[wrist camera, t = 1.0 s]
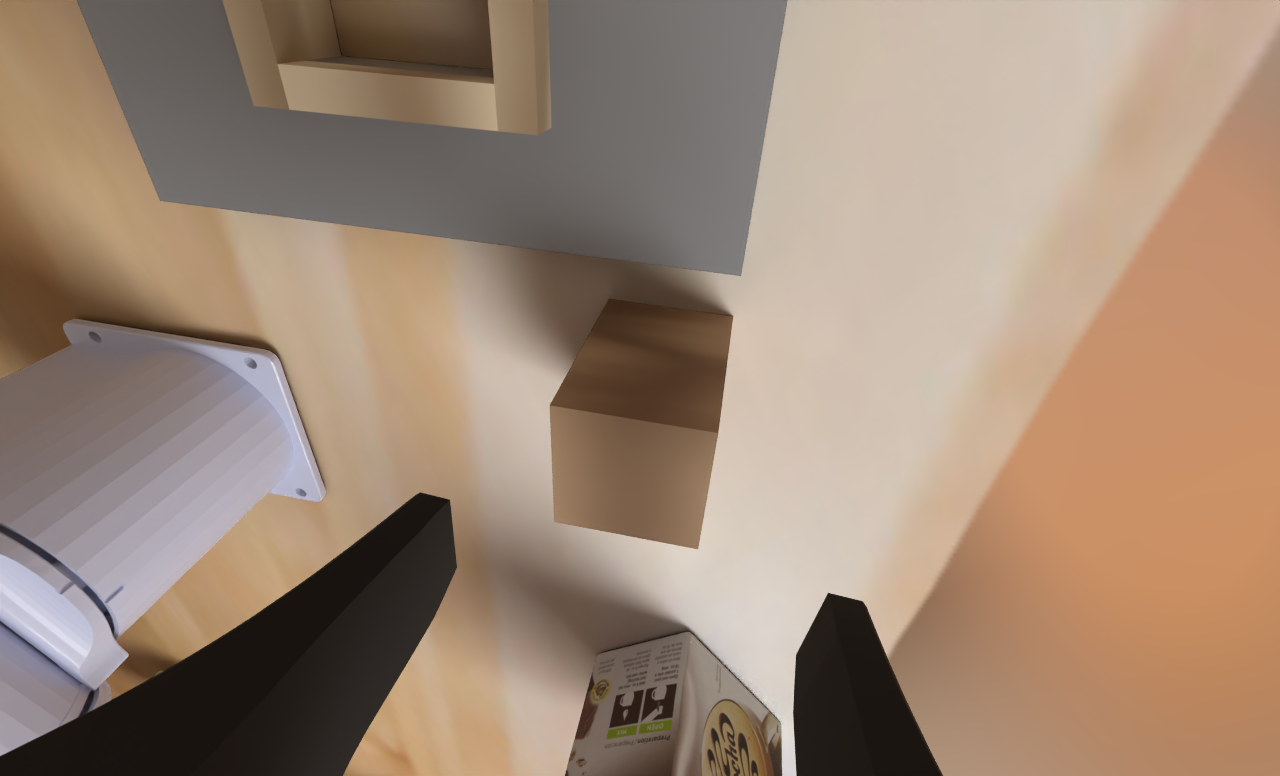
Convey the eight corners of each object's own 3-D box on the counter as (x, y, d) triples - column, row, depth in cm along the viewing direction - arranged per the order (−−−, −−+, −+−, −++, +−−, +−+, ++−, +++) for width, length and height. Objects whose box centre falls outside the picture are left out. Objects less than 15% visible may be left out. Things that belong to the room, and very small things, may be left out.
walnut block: (606, 399, 21) (554, 521, 16) (608, 298, 18) (549, 405, 14) (716, 417, 20) (697, 549, 15) (733, 315, 18) (718, 433, 13)
